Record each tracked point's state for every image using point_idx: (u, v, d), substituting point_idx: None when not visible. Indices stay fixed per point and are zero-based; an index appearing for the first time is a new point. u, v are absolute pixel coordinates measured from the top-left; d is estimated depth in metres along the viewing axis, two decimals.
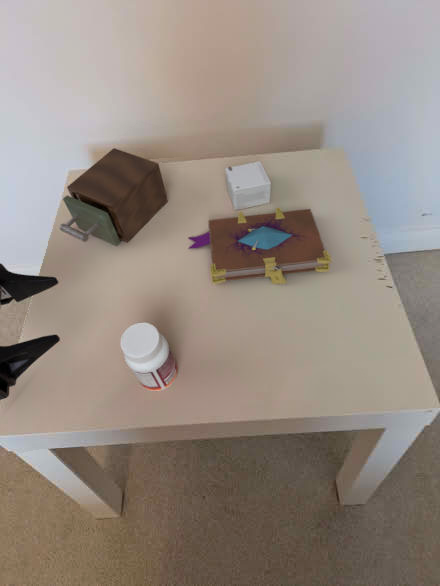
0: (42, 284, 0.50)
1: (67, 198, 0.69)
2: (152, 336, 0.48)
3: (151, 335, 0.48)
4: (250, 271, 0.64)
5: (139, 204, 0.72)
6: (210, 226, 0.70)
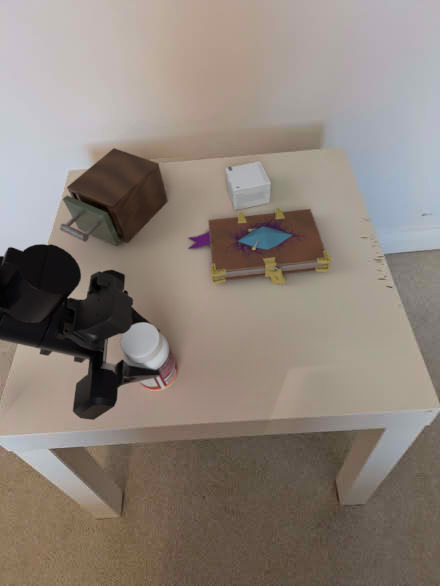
0: None
1: (67, 198, 0.69)
2: (153, 336, 0.48)
3: (151, 335, 0.48)
4: (250, 271, 0.64)
5: (139, 204, 0.72)
6: (210, 226, 0.70)
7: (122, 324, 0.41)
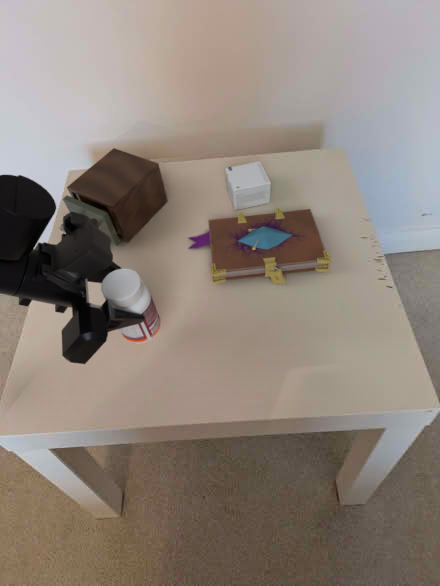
0: None
1: (67, 198, 0.69)
2: (133, 279, 0.48)
3: (131, 278, 0.48)
4: (250, 271, 0.64)
5: (139, 204, 0.72)
6: (210, 226, 0.70)
7: (103, 257, 0.40)
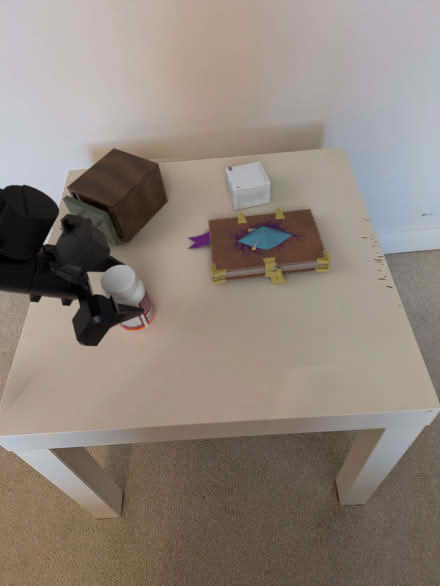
0: None
1: (67, 198, 0.69)
2: (128, 273, 0.54)
3: (127, 272, 0.54)
4: (250, 271, 0.64)
5: (139, 204, 0.72)
6: (210, 226, 0.70)
7: (102, 249, 0.46)
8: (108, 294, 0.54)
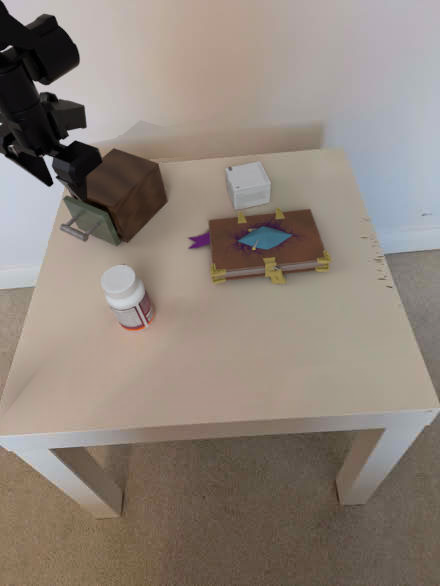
0: (46, 176, 0.63)
1: (67, 198, 0.69)
2: (128, 273, 0.54)
3: (127, 272, 0.54)
4: (250, 271, 0.64)
5: (139, 204, 0.72)
6: (210, 226, 0.70)
7: (85, 118, 0.58)
8: (108, 294, 0.54)
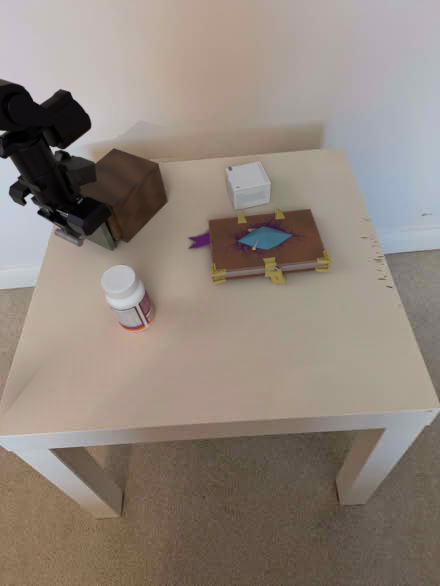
0: None
1: None
2: (128, 273, 0.54)
3: (127, 272, 0.54)
4: (250, 271, 0.64)
5: (139, 204, 0.72)
6: (210, 226, 0.70)
7: None
8: (108, 294, 0.54)
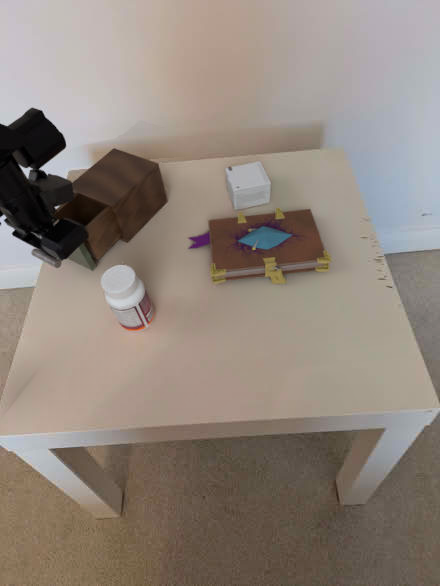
0: None
1: None
2: (128, 273, 0.54)
3: (127, 272, 0.54)
4: (250, 271, 0.64)
5: (139, 204, 0.72)
6: (210, 226, 0.70)
7: None
8: (108, 294, 0.54)
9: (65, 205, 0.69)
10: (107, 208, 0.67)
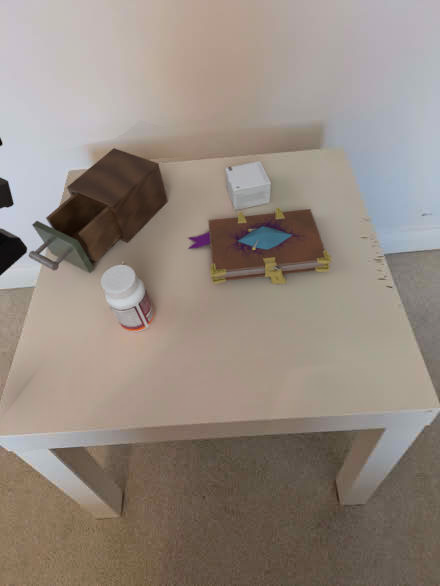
0: None
1: (37, 224, 0.66)
2: (128, 273, 0.54)
3: (127, 272, 0.54)
4: (250, 271, 0.64)
5: (139, 204, 0.72)
6: (210, 226, 0.70)
7: (11, 195, 0.49)
8: (108, 294, 0.54)
9: (63, 207, 0.68)
10: (105, 210, 0.67)
